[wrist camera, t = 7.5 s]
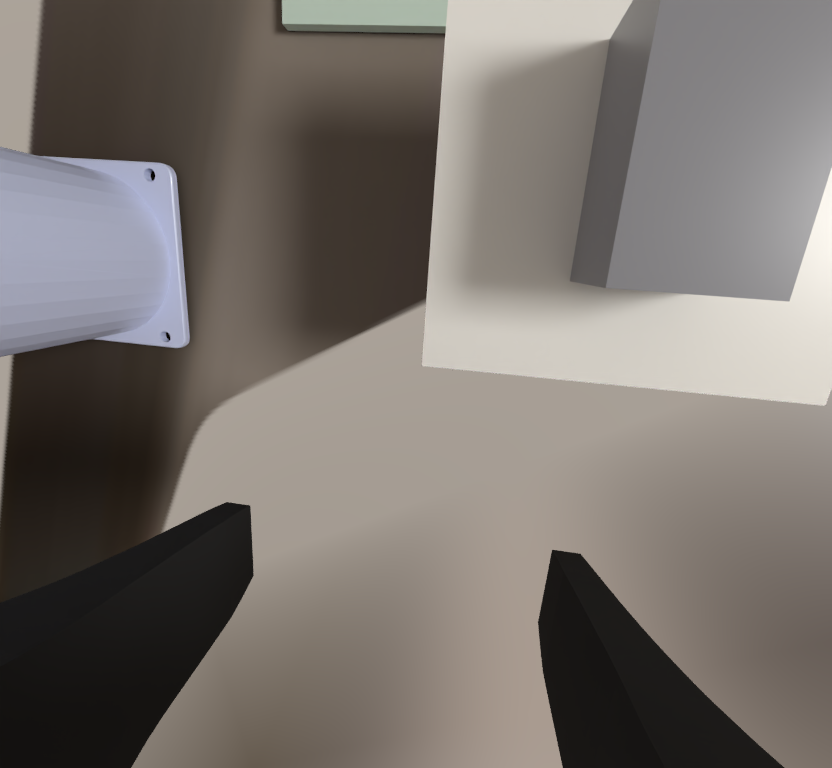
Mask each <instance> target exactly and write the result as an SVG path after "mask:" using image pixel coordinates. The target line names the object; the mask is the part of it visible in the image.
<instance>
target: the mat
mask: <svg viewBox="0 0 832 768" xmlns="http://www.w3.org/2000/svg"><path fill="white" fill-rule="evenodd" d="M447 6H448V0H282V24H283V25H284V27H285V28H286V29H287V30H288V31H332V32H390V33H446V20H447Z"/></svg>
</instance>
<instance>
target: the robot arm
mask: <svg viewBox="0 0 832 768" xmlns="http://www.w3.org/2000/svg"><path fill="white" fill-rule="evenodd" d="M152 171H154V173H155V179H154V180H153V181H152V179H151V172H152ZM166 332H168V333H169V334H170V337H171V338H170V340H168V338H167V337H166ZM88 339H97V340H106V341H116V342H125V343H134V344H143V345H153V346H162V347H171V348H181V347H184V346H186V345H187V344H188V343H189V339H190V336H189V324H188V311H187V299H186V286H185V274H184V262H183V249H182V237H181V225H180V212H179V200H178V188H177V177H176V173H175V171H174V170H173V168H171V167H170V166H169V165H165V164H162V163H153V162H135V161H117V160H99V159H81V158H63V157H45V156H36V155H32V154H28V153H24V152H19V151H15V150H11V149H7V148H3V147H0V357H1V356H6V355H12V354H17V353H22V352H27V351H32V350H37V349H42V348H47V347H52V346H58V345H63V344H68V343H73V342H78V341H83V340H88ZM252 577H253V555H252V534H251V513H250V506H249V505H242V504H235V503H228V502H226V503H224V504H222V505H220V506H217V507H215V508H212V509H210V510H208V511H206V512H204V513H202V514H200V515H198V516H196V517H194V518H192V519H190V520H188V521H185V522H183V523H182V524H180V525H178V526H175V527H173V528H171V529H170V530H167V531H165V532H163V533H161V534H159V535H157V536H155V537H153V538H151V539H149V540H147V541H145V542H143V543H141V544H139V545H137V546H135V547H133V548H130V549H128V550H126V551H124V552H122V553H120V554H117V555H115V556H113V557H111V558H109V559H106V560H104V561H102V562H100V563H98V564H95V565H93V566H91V567H89V568H87V569H84V570H82V571H80V572H78V573H75V574H73V575H71V576H68V577H66V578H63V579H61V580H59V581H56V582H54V583H51V584H49V585H46V586H44V587H41V588H38V589H36V590H33V591H31V592H28V593H25V594H23V595H20V596H18V597H15V598H12V599H10V600H7V601H4V602H1V603H0V768H131V767H132V765H133V763H134V762H135V760H136V758H137V757H138V755H139V753H140V752H141V750H142V748H143V746H144V745H145V743H146V741H147V739H148V738H149V736H150V735H151V733H152V732H153V730H154V729H155V727H156V726H157V724H158V723H159V721H160V720H161V718H162V717H163V715H164V714H165V712H166V711H167V709H168V708H169V706H170V705H171V703H172V702H173V701H174V699H175V698H176V696H177V695H178V693H179V692H180V691H181V689H182V688H183V686H184V685H185V683H186V682H187V681H188V679H189V677H190V676H191V675H192V673H193V672H194V670H195V669H196V668H197V666H198V665H199V663H200V662H201V660H202V659H203V658H204V656H205V655H206V653H207V652H208V650H209V649H210V648H211V646H212V645H213V643H214V642H215V640H216V639H217V637H218V636H219V634H220V633H221V631H222V630H223V629H224V627H225V626H226V624H227V623H228V621H229V620H230V618H231V617H232V615H233V613H234V611H235V609H236V608H237V606H238V604H239V602H240V600H241V599H242V597H243V595H244V593H245V591H246V589H247V587H248V585H249V583H250V581H251V579H252ZM538 625H539V637H540V648H541V657H542V667H543V674H544V679H545V683H546V689H547V694H548V699H549V704H550V708H551V713H552V718H553V723H554V728H555V732H556V737H557V741H558V747H559V751H560V756H561V761H562V765H563V768H784V767H783V766H782V765H781V764H779V763H778V762H777V761H776V760H775V759H774V758H773V757H771V756H770V755H769V754H768V753H767V752H766V751H765V750H764V749H763V748H761V747H760V746H759V745H758V744H757V743H756V742H755V741H754V740H753V739H751V738H750V737H749V736H748V735H747V734H746V733H745V732H744V731H743V730H742V729H741V728H740V727H739V726H738V725H737V724H735V723H734V722H733V721H732V720H731V719H730V718H729V717H728V716H727V715H726V714H725V713H724V712H723V711H722V710H721V709H720V708H718V707H717V706H716V705H715V704H714V703H713V702H712V701H711V700H710V699H709V698H708V697H707V696H706V695H705V694H704V693H703V692H702V691H701V690H700V689H699V688H698V687H697V686H696V685H695V684H694V683H693V682H692V681H691V680H690V679H689V678H688V677H687V676H686V675H685V674H684V673H683V672H682V670H680V668H679V667H678V666H677V665H676V664H675V663H674V662H673V661H672V660H671V659H670V658H669V657H668V656H667V655H666V654H665V653H664V652H663V650H662V649H661V648H660V647H659V646H658V645H657V644H656V643H655V642H654V641H653V640H652V638H651V637H650V636H649V635H648V634H647V633H646V632H645V631H644V629H642V627H641V626H640V625H639V624H638V623H637V622H636V620H635V619H634V618H633V617H632V616H631V615H630V613H629V612H628V611H627V610H626V609H625V607H624V606H623V605H622V604H621V603H620V602H619V601H618V599H617V598H616V597H615V596H614V594H613V593H612V592H611V591H610V590H609V588H608V587H607V586H606V585H605V584H604V582H603V581H602V580H601V578H600V577H599V576H598V575H597V574H596V572H595V571H594V570H593V569H592V568H591V566H590V565H589V564H588V563H587V561H586V560H585V559H584V558H583V557H582V556H581V554H578V553H570V552H564V551H557V550H552V554H551V559H550V564H549V570H548V574H547V580H546V585H545V590H544V595H543V601H542V605H541V611H540V616H539V621H538Z"/></svg>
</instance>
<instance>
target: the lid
mask: <svg viewBox="0 0 832 768" xmlns="http://www.w3.org/2000/svg"><path fill="white" fill-rule="evenodd" d="M422 366H427V367H436V368H447V369H457V370H468V371H478V372H487V373H499V374H508V375H519V376H529V377H538V378H550V379H559V380H569V381H580V382H590V383H600V384H610V385H620V386H630V387H641V388H651V389H661V390H671V391H681V392H691V393H702V394H712V395H723V396H732V397H742V398H753V399H763V400H773V401H783V402H794V403H805V404H814V405H824V406H825V405H826V402H827V400H828V397H829V394H830V392H831V389H832V0H448V6H447V20H446V34H445V48H444V62H443V76H442V89H441V103H440V117H439V131H438V145H437V159H436V173H435V186H434V200H433V214H432V228H431V242H430V256H429V269H428V283H427V297H426V311H425V325H424V340H423V352H422Z"/></svg>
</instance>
